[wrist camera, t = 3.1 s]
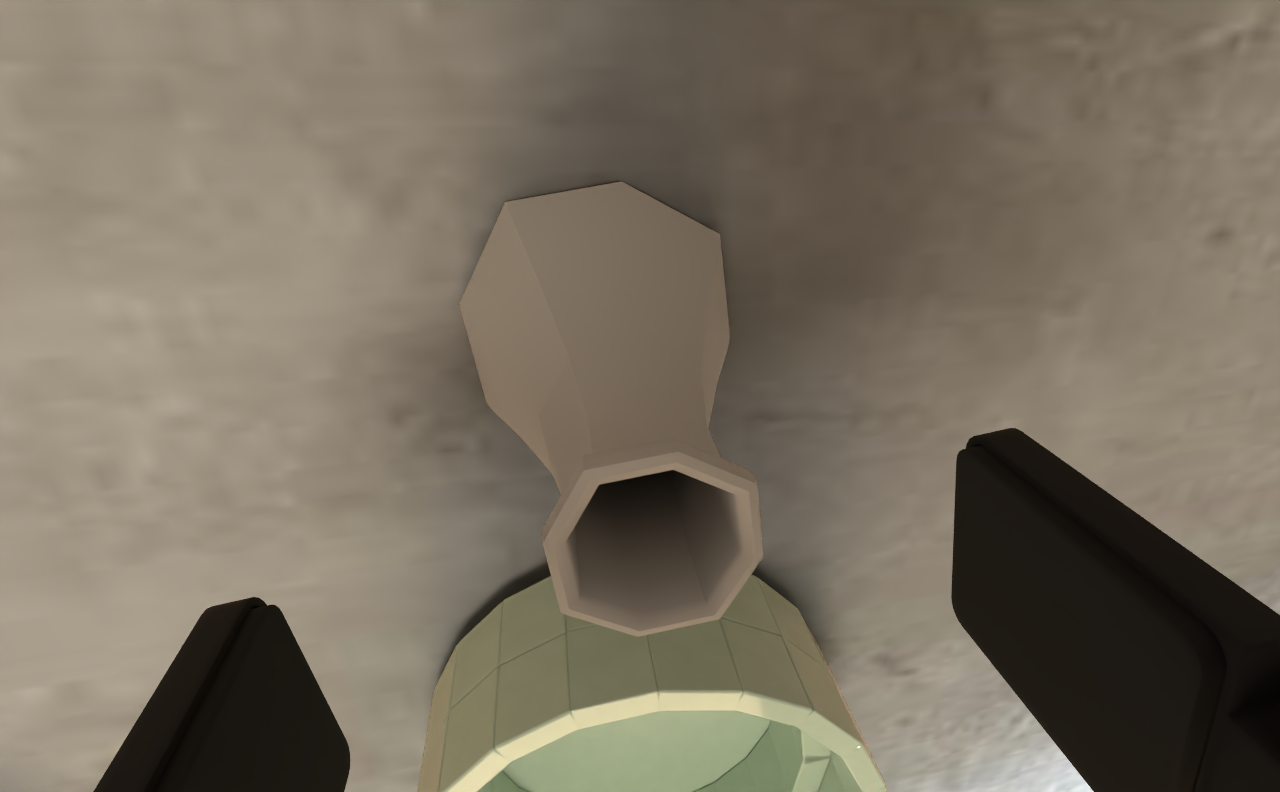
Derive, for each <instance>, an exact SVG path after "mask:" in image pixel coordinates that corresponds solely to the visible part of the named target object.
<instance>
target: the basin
mask: <svg viewBox="0 0 1280 792" xmlns="http://www.w3.org/2000/svg"><path fill="white" fill-rule="evenodd" d="M417 792H887V786H886V784H885V781H884V779H883V777H882V775H881V773H880V771H879V769H878V767H877V765H876V763H875V761H874V759H873V756H872V754H871V752H870V750H869V748H868V746H867V744H866V742H865V740H864V738H863V736H862V734H861V732H860V730H859V728H858V726H857V724H856V722H855V719H854V717H853V715H852V713H851V711H850V709H849V708H848V705H847V703H846V701H845V699H844V697H843V695H842V693H841V691H840V689H839V686H838V684H837V682H836V680H835V678H834V676H833V674H832V672H831V670H830V668H829V666H828V664H827V662H826V660H825V658H824V656H823V654H822V652H821V649H820V647H819V646H818V644H817V642H816V640H815V638H814V637H813V635H812V633H811V631H810V629H809V627H808V626H807V624H806V622H805V620H804V618H803V617H802V615H801V613H800V611H799V610H798V609H797V607H795V606H794V605H793V604H791V603H790V602H789V601H788V600H786V599H785V598H784V597H782V596H781V595H780V594H779V593H777V592H776V591H775V590H773V589H772V588H771V587H769V586H768V585H767V584H766V583H764V582H763V581H762V580H760V579H759V578H758V577H756V576H755V575H752V574H751V575H750V577H749V578H748V580H747V581H746V582H745V584H744V585H743V587H742V588H741V590H740V591H739V592H738V594H737V595H736V597H735V598H734V599H733V601H732V602H731V604H730V605H729V607H728V608H727V609H726V611H725V612H724V614H723V615H722V616H721V618H720V619H718V620H714V621H709V622H704V623H700V624H695V625H690V626H686V627H681V628H676V629H672V630H667V631H662V632H658V633H653V634H648V635H644V636H639V637H636V636H633V635H630V634H627V633H623V632H620V631H617V630H614V629H611V628H607V627H604V626H601V625H598V624H594V623H591V622H588V621H585V620H582V619H578V618H575V617H572V616H569V615H565V614H562V613H561V612H560V608H559V604H558V601H557V597H556V593H555V589H554V585H553V582H552V578H551V576H549V577H547V578H545V579H544V580H542V581H540V582H538V583H536V584H534V585H532V586H530V587H528V588H526V589H524V590H522V591H520V592H518V593H516V594H514V595H512V596H510V597H508V598H506V599H504V600H503V602H501V603H500V604H499V605H498V606H496V607H495V608H494V609H493V610H492V611H491V612H490V613H489V614H488V615H487V616H486V617H485V618H484V619H483V620H482V621H481V622H480V623H478V624H477V625H476V626H475V627H474V628H473V629H472V630H471V631H470V632H469V633H468V634H467V635H466V636H465V637H464V638H463V639H461V640H460V642H459V644H457V645H456V647H455V649H454V651H453V653H452V655H451V657H450V659H449V661H448V663H447V665H446V667H445V669H444V671H443V673H442V675H441V677H440V679H439V681H438V683H437V685H436V687H435V689H434V693H433V698H432V704H431V710H430V717H429V723H428V729H427V735H426V741H425V747H424V754H423V760H422V766H421V772H420V778H419V784H418V791H417Z"/></svg>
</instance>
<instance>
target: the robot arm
mask: <svg viewBox="0 0 1280 792" xmlns="http://www.w3.org/2000/svg"><path fill="white" fill-rule="evenodd" d="M952 605H953V609H954V612H955V614H956V616H957V618H958V620H959V622H960V623H961V625H962V626H963V628H964V629H965V630H966V631H967V633H968V634H969V635H970V636H971V638H972V639H973V640H974V641H975V643H976V644H977V645H978V647H979V648H980V649H981V650H982V652H983V653H984V654H985V655H986V657H987V658H988V659H989V660H990V662H991V663H992V664H993V665H994V667H995V668H996V669H997V670H998V672H999V673H1000V674H1001V675H1002V677H1003V678H1004V679H1005V680H1006V682H1007V683H1008V684H1009V686H1010V687H1011V688H1012V689H1013V691H1014V692H1015V693H1016V694H1017V696H1018V697H1019V698H1020V699H1021V701H1022V702H1023V703H1024V704H1025V706H1026V707H1027V708H1028V709H1029V711H1030V712H1031V713H1032V714H1033V716H1034V717H1035V718H1036V719H1037V721H1038V722H1039V723H1040V725H1041V726H1042V727H1043V728H1044V730H1045V731H1046V732H1047V733H1048V735H1049V736H1050V737H1051V738H1052V740H1053V741H1054V742H1055V743H1056V745H1057V746H1058V747H1059V748H1060V750H1061V751H1062V752H1063V753H1064V755H1065V756H1066V757H1067V758H1068V760H1069V761H1070V762H1071V763H1072V765H1073V766H1074V767H1075V769H1076V770H1077V771H1078V772H1079V774H1080V775H1081V776H1082V777H1083V779H1084V780H1085V781H1086V782H1087V784H1088V785H1089V786H1090V787H1091V789H1092V790H1093V791H1094V792H1280V615H1279V614H1277V613H1276V612H1275V611H1273V610H1272V609H1270V608H1269V607H1268V606H1266V605H1265V604H1263V603H1262V602H1260V601H1259V600H1258V599H1256V598H1255V597H1253V596H1252V595H1251V594H1249V593H1248V592H1246V591H1245V590H1244V589H1242V588H1241V587H1239V586H1238V585H1237V584H1235V583H1234V582H1232V581H1231V580H1230V579H1228V578H1227V577H1225V576H1224V575H1223V574H1221V573H1220V572H1218V571H1217V570H1216V569H1214V568H1213V567H1211V566H1210V565H1209V564H1207V563H1206V562H1204V561H1203V560H1202V559H1200V558H1199V557H1197V556H1196V555H1194V554H1193V553H1192V552H1190V551H1189V550H1187V549H1186V548H1185V547H1183V546H1182V545H1180V544H1179V543H1178V542H1176V541H1175V540H1173V539H1172V538H1171V537H1169V536H1168V535H1166V534H1165V533H1164V532H1162V531H1161V530H1159V529H1158V528H1157V527H1155V526H1154V525H1152V524H1151V523H1150V522H1148V521H1147V520H1145V519H1144V518H1143V517H1141V516H1140V515H1138V514H1137V513H1136V512H1134V511H1133V510H1131V509H1130V508H1128V507H1127V506H1126V505H1124V504H1123V503H1121V502H1120V501H1119V500H1117V499H1116V498H1114V497H1113V496H1112V495H1110V494H1109V493H1107V492H1106V491H1105V490H1103V489H1102V488H1100V487H1099V486H1098V485H1096V484H1095V483H1093V482H1092V481H1091V480H1089V479H1088V478H1086V477H1085V476H1084V475H1082V474H1081V473H1079V472H1078V471H1077V470H1075V469H1074V468H1072V467H1071V466H1070V465H1068V464H1067V463H1065V462H1064V461H1062V460H1061V459H1060V458H1058V457H1057V456H1055V455H1054V454H1053V453H1051V452H1050V451H1048V450H1047V449H1046V448H1044V447H1043V446H1041V445H1040V444H1039V443H1037V442H1036V441H1034V440H1033V439H1032V438H1030V437H1029V436H1027V435H1026V434H1025V433H1023V432H1022V431H1020V430H1018V429H1016V428H1009V429H1004V430H1000V431H995V432H991V433H986V434H982V435H977V436H973V437H972V438H970V439H969V441H968V443H967V446H966V449H963V450H961V451H959V453H958V455H957V461H956V489H955V516H954V543H953V570H952ZM349 769H350V751H349V746H348V743H347V741H346V739H345V737H344V735H343V733H342V731H341V729H340V727H339V725H338V723H337V721H336V719H335V717H334V715H333V713H332V711H331V709H330V707H329V705H328V703H327V701H326V699H325V697H324V695H323V693H322V691H321V689H320V687H319V685H318V683H317V681H316V679H315V677H314V675H313V673H312V671H311V669H310V667H309V665H308V663H307V661H306V659H305V657H304V655H303V653H302V651H301V649H300V647H299V645H298V643H297V641H296V639H295V637H294V635H293V633H292V631H291V629H290V627H289V625H288V623H287V621H286V619H285V617H284V615H283V613H282V612H281V610H280V609H279V608H278V607H277V606H276V605H268V606H267V605H266V604H265V602H264V601H263V600H261V599H260V598H256V597H252V598H248V599H243V600H239V601H234V602H230V603H225V604H221V605H216V606H212V607H210V608H208V609H206V610H205V611H204V613H203V614H202V615H201V617H200V618H199V620H198V621H197V623H196V625H195V626H194V628H193V630H192V631H191V633H190V635H189V636H188V638H187V639H186V641H185V643H184V644H183V646H182V648H181V649H180V651H179V653H178V654H177V656H176V657H175V659H174V661H173V662H172V664H171V666H170V667H169V669H168V671H167V672H166V674H165V675H164V677H163V679H162V680H161V682H160V684H159V685H158V687H157V689H156V690H155V692H154V693H153V695H152V697H151V698H150V700H149V702H148V703H147V705H146V707H145V708H144V710H143V712H142V713H141V715H140V716H139V718H138V720H137V721H136V723H135V725H134V726H133V728H132V730H131V731H130V733H129V734H128V736H127V738H126V739H125V741H124V743H123V744H122V746H121V748H120V749H119V751H118V752H117V754H116V756H115V757H114V759H113V761H112V762H111V764H110V766H109V767H108V769H107V770H106V772H105V774H104V775H103V777H102V779H101V780H100V782H99V784H98V785H97V787H96V788H95V790H94V792H344V790H345V786H346V782H347V778H348V775H349Z"/></svg>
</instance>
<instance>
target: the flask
mask: <svg viewBox="0 0 1280 792" xmlns="http://www.w3.org/2000/svg"><path fill="white" fill-rule="evenodd" d="M459 306H460V310H461V313H462V317H463V321H464V324H465V328H466V331H467V335H468V339H469V342H470V346H471V349H472V353H473V357H474V360H475V364H476V367H477V371H478V375H479V378H480V382H481V385H482V389H483V393H484V396H485V400H486V403H487V405H488V406H489V407H490V408H491V409H492V410H493V412H494V413H495V414H496V415H498V416H499V417H500V418H501V419H502V420H503V421H504V422H505V423H506V424H507V425H508V426H509V427H510V428H511V429H512V430H514V431H515V432H516V433H517V434H518V435H519V436H520V437H521V438H522V440H523V441H524V442H525V443H526V444H527V445H528V446H529V448H530V449H531V450H532V451H533V452H534V453H535V455H536V456H537V457H538V458H539V459H540V460H541V461H542V463H543V464H544V465H545V466H546V467H547V468H548V470H549V471H550V472H551V473H552V474H553V477H554V479H555V482H556V484H557V487H558V489H559V492H560V498H559V500H558V502H557V503H556V505H555V507H554V509H553V511H552V512H551V514H550V516H549V518H548V520H547V521H546V523H545V525H544V528H543V531H542V534H541V535H542V544H543V548H544V551H545V555H546V559H547V563H548V567H549V570H550V574H551V578H552V582H553V585H554V589H555V593H556V597H557V601H558V604H559V608H560V612H561V613H562V614H565V615H569V616H572V617H575V618H578V619H582V620H585V621H588V622H591V623H594V624H598V625H601V626H604V627H607V628H611V629H614V630H617V631H620V632H623V633H627V634H630V635H633V636H636V637H639V636H644V635H648V634H653V633H658V632H662V631H667V630H672V629H676V628H681V627H686V626H690V625H695V624H700V623H704V622H709V621H714V620H718V619H720V618H721V616H722V615H723V614H724V612H725V611H726V609H727V608H728V607H729V605H730V604H731V602H732V601H733V599H734V598H735V597H736V595H737V594H738V592H739V591H740V590H741V588H742V587H743V585H744V584H745V582H746V581H747V580H748V578H749V577H750V575H751V574H752V573H753V571H754V570H755V568H756V567H757V565H758V564H759V563H760V561H761V560H762V558H763V557H764V553H763V542H762V530H761V519H760V507H759V496H758V485H757V482H756V479H755V477H754V475H753V474H752V473H751V472H749V471H748V470H747V469H746V468H743V467H741V466H739V465H736V464H734V463H732V462H729V461H727V460H724V459H722V458H721V457H720V455H719V452H718V450H717V448H716V445H715V443H714V441H713V439H712V436H711V434H710V432H709V424H710V419H711V414H712V409H713V403H714V398H715V393H716V388H717V383H718V379H719V376H720V373H721V370H722V366H723V363H724V360H725V356H726V353H727V350H728V345H729V340H730V331H729V321H728V310H727V300H726V290H725V279H724V269H723V259H722V249H721V238H720V234H719V233H717V232H715V231H713V230H711V229H709V228H707V227H705V226H704V225H702V224H700V223H698V222H696V221H694V220H692V219H691V218H689V217H687V216H685V215H683V214H681V213H679V212H678V211H676V210H674V209H672V208H670V207H668V206H666V205H665V204H663V203H661V202H659V201H657V200H655V199H653V198H652V197H650V196H648V195H646V194H644V193H642V192H640V191H639V190H637V189H635V188H633V187H631V186H629V185H627V184H625V183H624V182H622V181H621V182H616V183H610V184H604V185H599V186H593V187H587V188H582V189H576V190H571V191H565V192H559V193H554V194H548V195H542V196H537V197H531V198H525V199H520V200H514V201H508V202H505V203H504V206H503V208H502V210H501V212H500V215H499V217H498V219H497V221H496V224H495V226H494V228H493V230H492V232H491V235H490V237H489V239H488V241H487V244H486V246H485V248H484V250H483V252H482V255H481V257H480V259H479V261H478V264H477V266H476V268H475V270H474V273H473V275H472V277H471V279H470V281H469V284H468V286H467V288H466V290H465V293H464V295H463V297H462V299H461V302H460V304H459Z"/></svg>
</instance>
